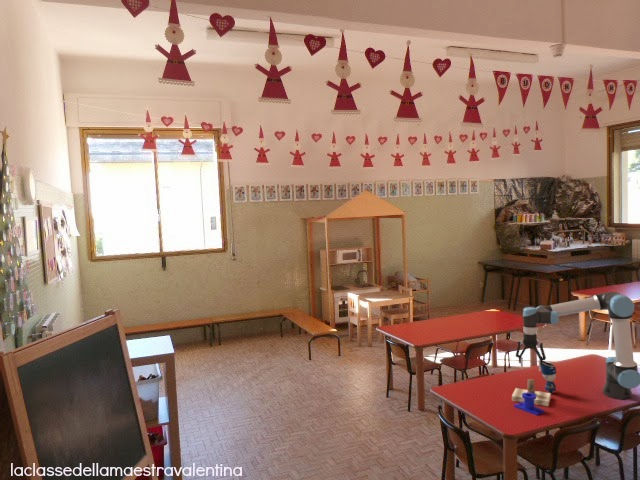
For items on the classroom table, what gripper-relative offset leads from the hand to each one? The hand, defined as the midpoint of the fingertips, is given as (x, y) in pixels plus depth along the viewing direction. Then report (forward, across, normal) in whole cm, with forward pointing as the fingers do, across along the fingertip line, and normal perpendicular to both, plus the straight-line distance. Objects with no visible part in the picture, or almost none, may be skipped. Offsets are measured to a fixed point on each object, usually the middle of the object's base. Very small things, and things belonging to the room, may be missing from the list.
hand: (530, 369), depth 288 cm
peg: (+19, 0, 0) cm, 19 cm away
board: (+19, 0, 0) cm, 19 cm away
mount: (+19, -1, +16) cm, 25 cm away
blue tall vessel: (+19, -8, -16) cm, 26 cm away
